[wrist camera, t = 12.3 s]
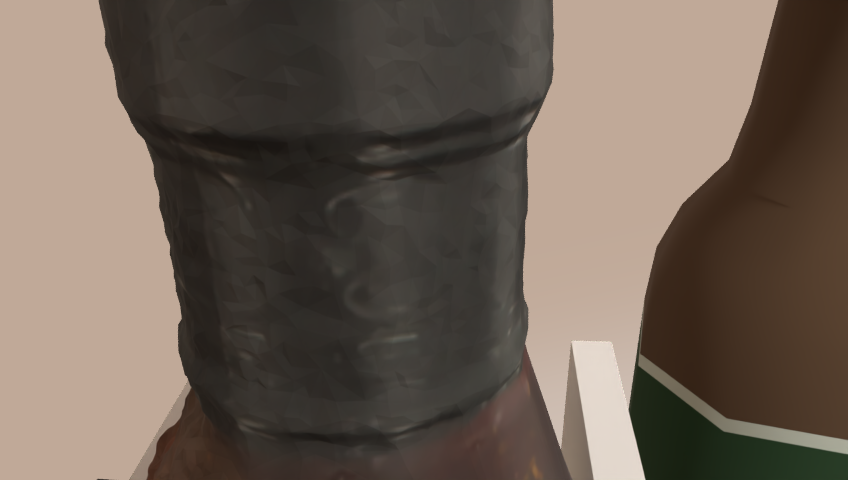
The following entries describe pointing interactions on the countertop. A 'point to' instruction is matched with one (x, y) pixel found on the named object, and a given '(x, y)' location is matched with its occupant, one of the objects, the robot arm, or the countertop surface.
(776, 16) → the beer bottle
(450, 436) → the sauce bottle
